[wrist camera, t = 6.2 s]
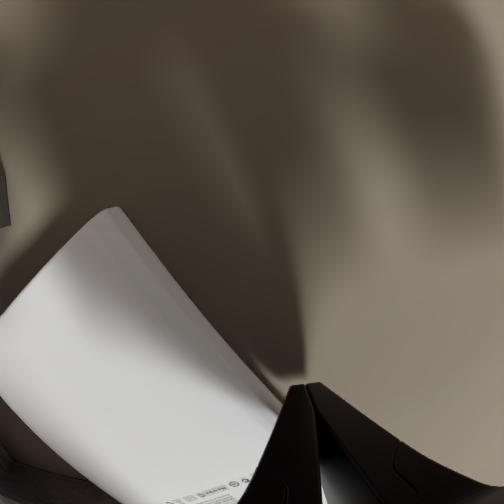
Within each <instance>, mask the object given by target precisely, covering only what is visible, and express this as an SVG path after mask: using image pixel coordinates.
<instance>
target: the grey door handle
mask: <svg viewBox="0 0 504 504" xmlns="http://www.w3.org/2000/svg"><path fill="white" fill-rule="evenodd" d="M9 225H11V224H10V217H9V209H8V201H7V191H6V179H5V175H0V228H2V227H5V226H9ZM0 504H119V502H118V501H117V500H116V499H115V498H113V497H112V496H110V495H109V494H108V493H106V492H105V491H103V490H102V489H101V488H99V487H98V486H96V485H95V484H94V483H92V482H89V481H84V480H79V479H75V478H71V477H66V476H62V475H58V474H55V473H51V472H47V471H44V470H40V469H37V468H34V467H31V466H27V465H24V464H21V463H18V462H16V461H13V460H12V459H11V457H10V456H9V454H8V453H7V451H6V450H5V448H4V447H3V445H2V444H1V442H0Z"/></svg>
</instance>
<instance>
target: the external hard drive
mask: <svg viewBox="0 0 504 504" xmlns="http://www.w3.org/2000/svg"><path fill="white" fill-rule="evenodd" d="M0 396H1V397H2V398H3V400H4V401H5V402H6V403H7V404H8V405H9V406H10V408H11V409H12V410H13V411H14V412H15V413H16V414H17V415H18V416H19V417H20V418H21V419H22V421H23V422H24V423H25V424H26V425H27V426H28V427H29V428H30V429H31V430H32V431H33V432H34V433H35V434H36V435H37V436H38V437H39V438H41V439H42V440H43V441H44V442H45V443H46V444H47V445H48V446H49V447H50V448H51V449H52V450H53V451H55V452H56V453H57V454H58V455H59V456H60V457H61V458H63V459H64V460H65V461H66V462H67V463H69V464H70V465H71V466H72V467H73V468H75V469H76V470H77V471H78V472H80V473H81V474H82V475H83V476H85V477H86V478H87V479H89V480H90V481H91V482H92V483H94V484H95V485H96V486H98V487H99V488H101V489H102V490H103V491H105V492H106V493H108V494H109V495H110V496H112V497H113V498H115V499H116V500H118V501H119V502H121V503H122V504H237V502H238V501H239V499H240V498H241V496H242V495H243V493H244V491H245V490H246V488H247V486H248V484H249V482H250V480H251V478H252V476H253V474H254V472H255V469H256V467H257V466H258V463H259V461H260V458H261V456H262V454H263V452H264V449H265V447H266V445H267V442H268V440H269V437H270V435H271V433H272V430H273V428H274V425H275V423H276V420H277V418H278V416H279V413H280V411H281V408H282V405H283V404H282V403H281V402H280V401H279V400H278V399H277V398H276V397H275V396H274V395H273V394H272V393H271V392H270V390H269V389H268V388H267V387H266V386H265V385H264V384H263V383H262V382H261V381H260V380H259V378H258V377H257V376H256V375H255V374H254V373H253V372H252V371H251V370H250V369H249V368H248V367H247V365H246V364H245V363H244V362H243V361H242V360H241V359H240V358H239V356H238V355H237V354H236V353H235V352H234V351H233V350H232V348H231V347H230V346H229V345H228V344H227V343H226V342H225V340H224V339H223V338H222V337H221V336H220V334H219V333H218V332H217V331H216V330H215V329H214V328H213V326H212V325H211V324H210V323H209V322H208V320H207V319H206V318H205V317H204V316H203V314H202V313H201V312H200V311H199V310H198V308H197V307H196V306H195V305H194V303H193V302H192V301H191V300H190V298H189V297H188V296H187V295H186V293H185V292H184V291H183V289H182V288H181V287H180V286H179V284H178V283H177V282H176V281H175V279H174V278H173V277H172V276H171V274H170V273H169V272H168V270H167V269H166V268H165V267H164V265H163V264H162V263H161V261H160V260H159V258H158V257H157V256H156V254H155V253H154V252H153V251H152V249H151V248H150V247H149V246H148V244H147V243H146V241H145V240H144V239H143V237H142V236H141V235H140V233H139V232H138V231H137V229H136V228H135V227H134V225H133V224H132V223H131V221H130V220H129V219H128V217H127V216H126V215H125V213H124V212H123V210H122V209H121V208H120V207H116V206H115V207H112V208H107V209H104V210H102V211H101V212H99V213H98V214H97V215H96V216H94V217H93V218H92V219H91V220H90V221H88V222H87V223H86V224H85V225H84V226H83V227H82V228H81V229H80V230H79V231H78V232H77V233H76V234H75V235H74V236H73V237H72V238H71V239H70V240H69V241H68V242H67V243H66V244H65V245H64V246H63V247H62V248H61V249H60V250H59V251H58V252H57V253H56V254H55V255H54V256H53V257H52V258H51V259H50V260H49V261H48V262H47V263H46V265H45V266H44V267H43V268H42V269H41V270H40V271H39V272H38V273H37V274H36V275H35V277H34V278H33V279H32V280H31V281H30V282H29V283H28V284H27V286H26V287H25V288H24V289H23V290H22V291H21V292H20V293H19V295H18V296H17V297H16V298H15V299H14V301H13V302H12V303H11V304H10V305H9V307H8V308H7V309H6V310H5V312H4V313H3V314H2V315H1V316H0ZM321 487H322V485H321ZM322 502H323V504H327V501H326V497H325V494H324V491H323V488H322Z"/></svg>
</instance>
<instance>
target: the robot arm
mask: <svg viewBox="0 0 504 504" xmlns="http://www.w3.org/2000/svg"><path fill="white" fill-rule="evenodd" d="M321 485H322V487H321ZM322 488H323V491H324V494H325V497H326V501H327V504H504V487H498V486H490V485H486V484H483V483H480V482H478V481H475V480H473V479H471V478H469V477H466V476H464V475H462V474H460V473H458V472H455V471H453V470H451V469H449V468H447V467H445V466H443V465H441V464H439V463H437V462H435V461H433V460H431V459H429V458H427V457H426V456H424V455H422V454H421V453H419V452H418V451H416V450H414V449H413V448H411V447H410V446H408V445H407V444H405V443H404V442H402V441H400V440H399V439H398V438H396V437H395V436H393V435H392V434H391V433H389V432H388V431H386V430H385V429H383V428H382V427H381V426H379V425H378V424H376V423H375V422H374V421H372V420H371V419H369V418H368V417H367V416H365V415H364V414H362V413H361V412H360V411H358V410H357V409H356V408H354V407H353V406H352V405H350V404H349V403H347V402H346V401H345V400H343V399H342V398H341V397H339V396H338V395H337V394H335V393H334V392H333V391H331V390H330V389H329V388H327V387H326V386H325V385H323V384H322V383H320V382H316V383H308V384H306V385H304V384H300V385H292V386H290V388H289V390H288V393H287V395H286V398H285V400H284V403H283V405H282V408H281V411H280V413H279V416H278V418H277V420H276V423H275V425H274V428H273V430H272V433H271V435H270V437H269V440H268V442H267V445H266V447H265V449H264V452H263V454H262V456H261V458H260V461H259V463H258V466H257V467H256V469H255V472H254V474H253V476H252V478H251V480H250V482H249V484H248V486H247V488H246V490H245V491H244V493H243V495H242V496H241V498H240V499H239V501H238V502H237V504H323V502H322Z"/></svg>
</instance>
